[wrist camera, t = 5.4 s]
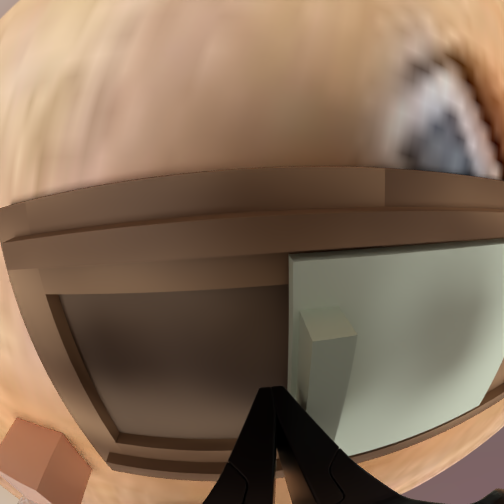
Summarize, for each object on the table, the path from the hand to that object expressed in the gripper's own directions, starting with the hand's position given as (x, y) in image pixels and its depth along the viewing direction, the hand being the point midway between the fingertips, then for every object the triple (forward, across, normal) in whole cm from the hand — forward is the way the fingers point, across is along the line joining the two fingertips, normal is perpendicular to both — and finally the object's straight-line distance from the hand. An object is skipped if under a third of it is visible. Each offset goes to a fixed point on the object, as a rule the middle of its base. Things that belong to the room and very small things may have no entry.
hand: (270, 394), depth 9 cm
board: (+2, -4, +1) cm, 5 cm away
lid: (+1, -7, +1) cm, 7 cm away
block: (+2, +16, +10) cm, 19 cm away
